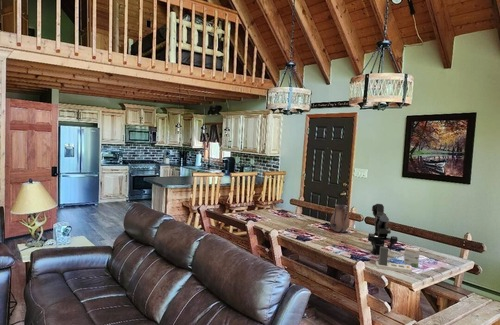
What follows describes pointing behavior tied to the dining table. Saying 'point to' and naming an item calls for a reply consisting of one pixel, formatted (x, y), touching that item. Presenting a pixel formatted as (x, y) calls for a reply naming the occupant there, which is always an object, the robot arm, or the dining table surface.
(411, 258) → the ink box
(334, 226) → the ceramic pitcher
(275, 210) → the dining table surface
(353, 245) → the dining table surface
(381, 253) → the charger plug
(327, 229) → the dining table surface
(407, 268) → the power strip
